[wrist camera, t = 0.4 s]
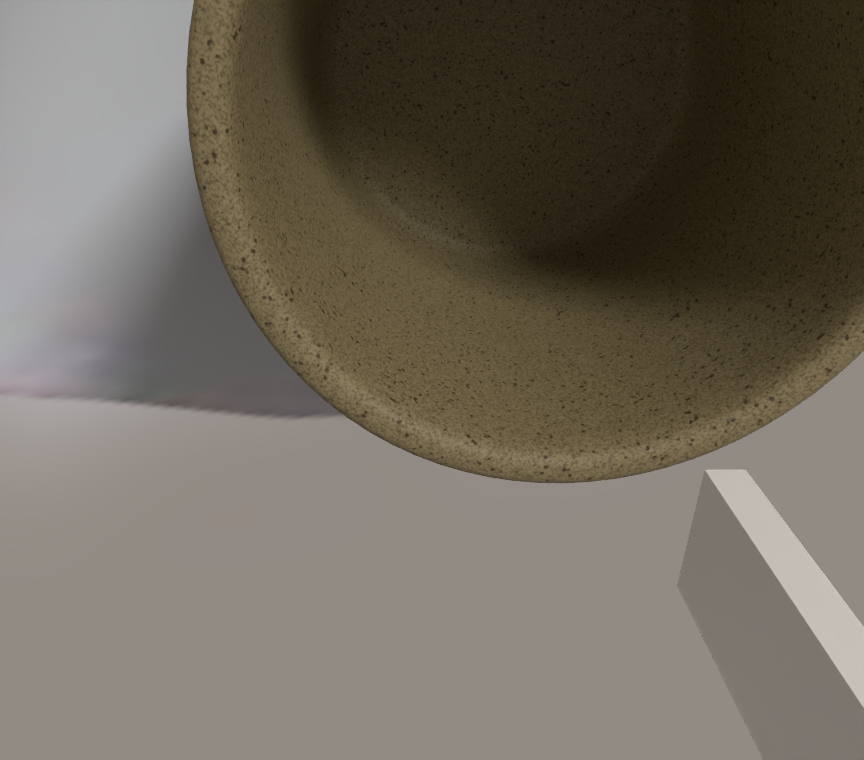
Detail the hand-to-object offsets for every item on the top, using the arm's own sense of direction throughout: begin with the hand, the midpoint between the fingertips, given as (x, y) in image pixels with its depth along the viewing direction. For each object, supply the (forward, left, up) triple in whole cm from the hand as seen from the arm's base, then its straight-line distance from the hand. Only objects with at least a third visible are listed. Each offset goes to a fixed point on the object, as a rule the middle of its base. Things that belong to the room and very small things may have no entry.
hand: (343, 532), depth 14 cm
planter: (-6, +6, -27) cm, 28 cm away
